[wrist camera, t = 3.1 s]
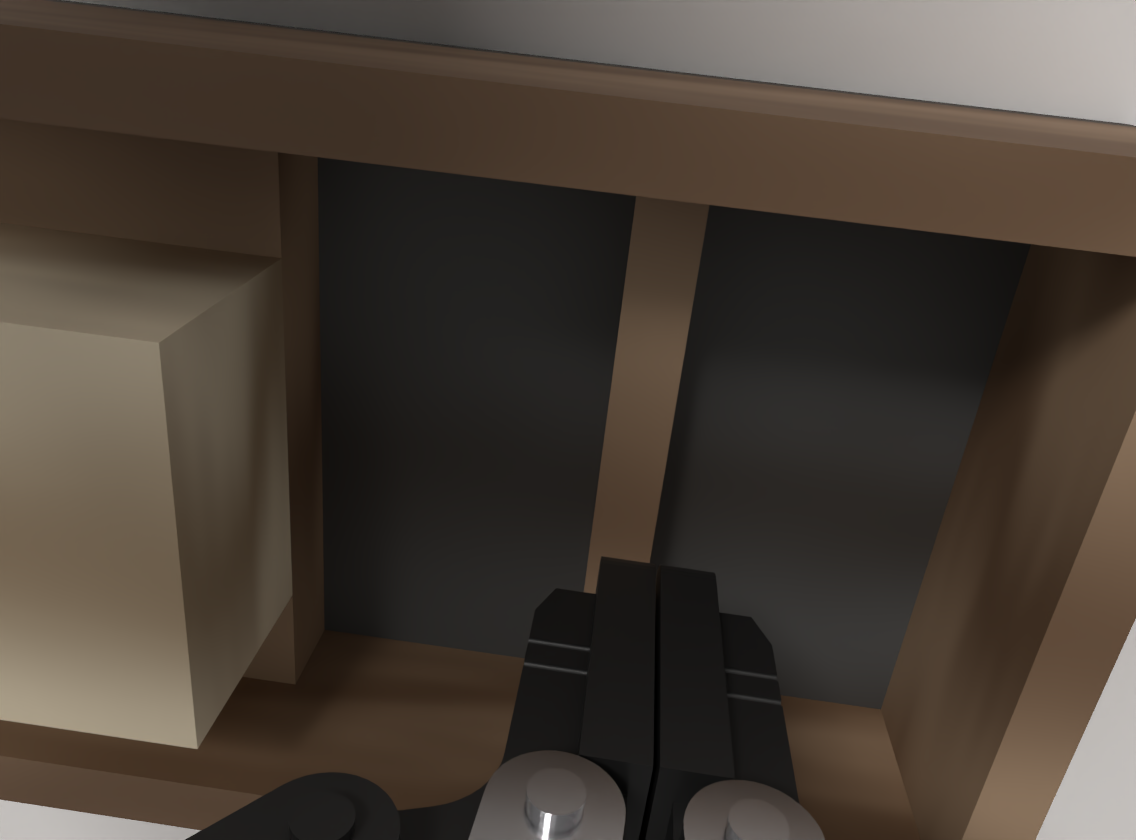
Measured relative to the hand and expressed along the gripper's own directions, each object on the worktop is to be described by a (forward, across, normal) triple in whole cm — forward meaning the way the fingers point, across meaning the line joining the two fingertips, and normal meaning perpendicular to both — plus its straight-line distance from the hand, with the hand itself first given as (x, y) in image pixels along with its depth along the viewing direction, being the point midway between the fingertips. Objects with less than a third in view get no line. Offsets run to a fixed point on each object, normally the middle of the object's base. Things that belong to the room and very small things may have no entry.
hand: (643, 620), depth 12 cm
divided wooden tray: (+5, +7, 0) cm, 8 cm away
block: (+3, +9, 0) cm, 9 cm away
